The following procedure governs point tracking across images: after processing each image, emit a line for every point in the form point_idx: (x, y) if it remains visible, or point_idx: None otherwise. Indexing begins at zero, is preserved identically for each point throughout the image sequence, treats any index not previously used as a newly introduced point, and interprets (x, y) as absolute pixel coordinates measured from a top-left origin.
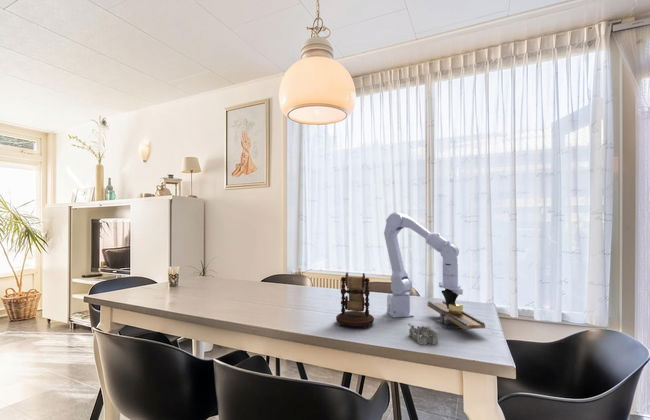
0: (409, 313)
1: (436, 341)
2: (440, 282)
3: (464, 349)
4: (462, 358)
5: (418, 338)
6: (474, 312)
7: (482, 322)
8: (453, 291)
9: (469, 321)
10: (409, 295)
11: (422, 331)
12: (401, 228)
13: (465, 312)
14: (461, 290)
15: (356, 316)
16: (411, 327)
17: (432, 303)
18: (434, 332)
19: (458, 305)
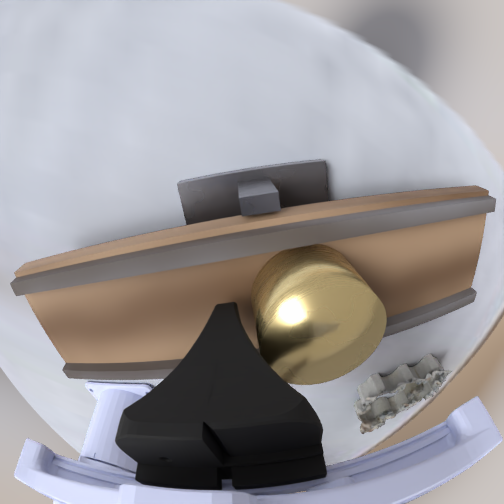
0: (138, 398)
1: (432, 358)
2: (43, 494)
3: (484, 298)
4: (500, 313)
5: (420, 396)
6: (13, 58)
7: (492, 207)
8: (337, 474)
9: (446, 254)
10: (121, 465)
11: (409, 400)
12: None
13: (325, 223)
14: (490, 438)
15: None
16: (379, 423)
17: (104, 376)
18: (432, 377)
19: (353, 326)
